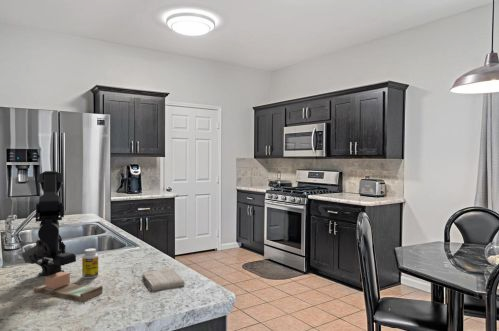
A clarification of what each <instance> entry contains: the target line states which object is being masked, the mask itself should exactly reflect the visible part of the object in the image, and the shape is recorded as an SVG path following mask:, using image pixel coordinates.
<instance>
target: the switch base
mask: <svg viewBox="0 0 499 331" xmlns="http://www.w3.org/2000/svg"><path fill="white" fill-rule="evenodd" d="M103 288H104V287H103V285H99V286H96V287H92V286H87V285H82V284H81V285H80V284H76V283H75V284H74V283H71V282H70V283H69V284H66V285H63V286H61V287H58V288H55V289H53V288H47V287H46V283H44V284H41V285H38V286H36V287H33V292H35V293H40V294H45V295H49V296H55V297H60V298H64V299H69V300H73V301H74V300H75V301H79V302H85V301H88V300H89V299H92V298H94V297H96V296H98V295H101V294H103V291H104V290H103Z"/></svg>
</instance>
